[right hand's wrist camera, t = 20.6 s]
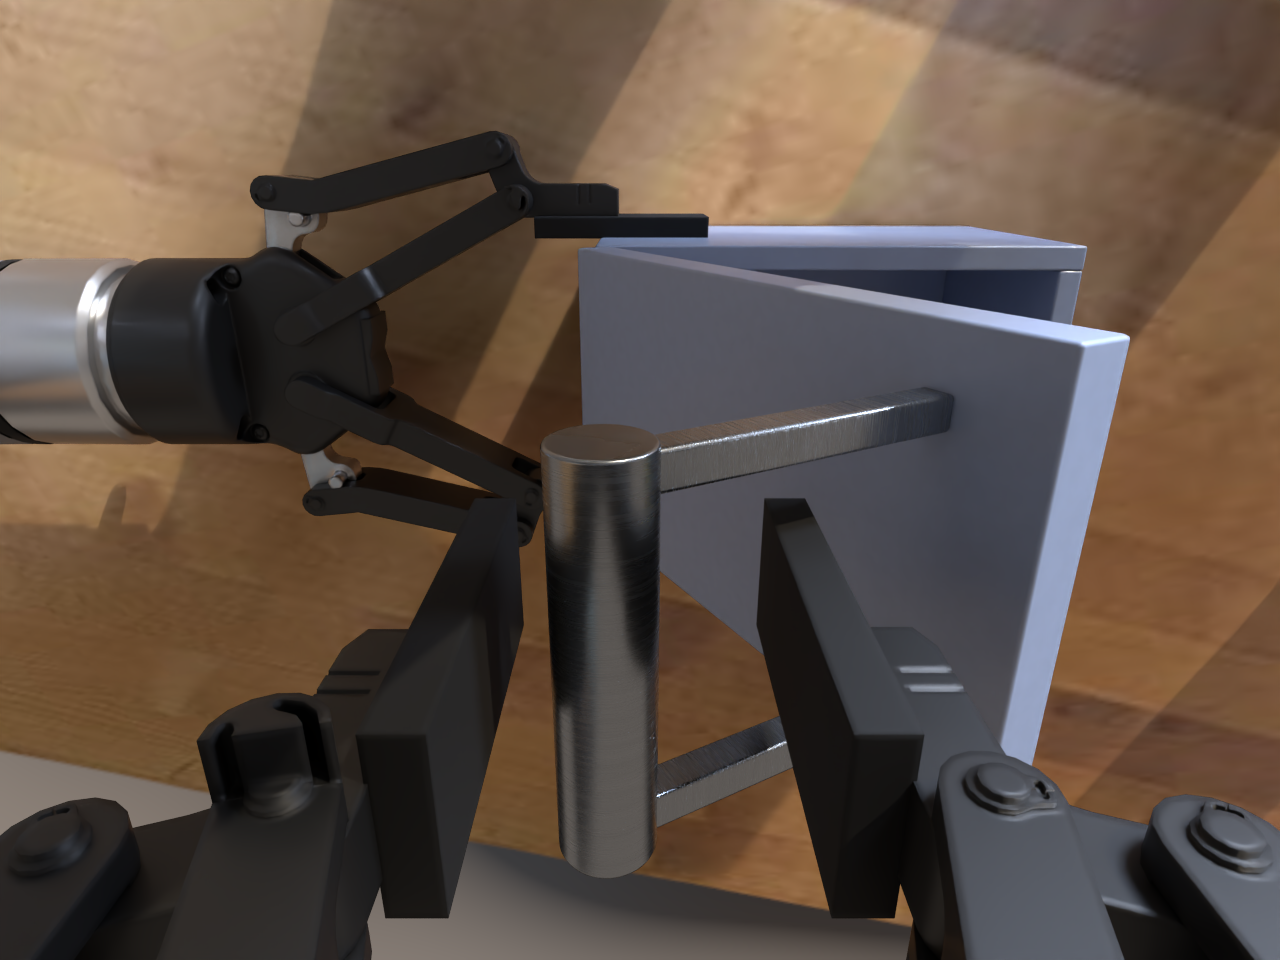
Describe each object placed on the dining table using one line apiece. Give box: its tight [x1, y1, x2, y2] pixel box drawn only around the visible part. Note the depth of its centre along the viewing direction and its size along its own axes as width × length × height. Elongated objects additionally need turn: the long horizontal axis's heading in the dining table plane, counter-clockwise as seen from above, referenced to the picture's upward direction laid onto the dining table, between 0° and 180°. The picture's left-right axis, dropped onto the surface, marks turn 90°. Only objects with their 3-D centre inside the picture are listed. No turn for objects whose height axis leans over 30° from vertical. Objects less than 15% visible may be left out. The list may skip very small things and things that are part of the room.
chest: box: [596, 225, 1087, 325], centre depth 33 cm, size 16×9×11 cm, turn 90°
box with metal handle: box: [540, 247, 1130, 878], centre depth 19 cm, size 17×9×9 cm
